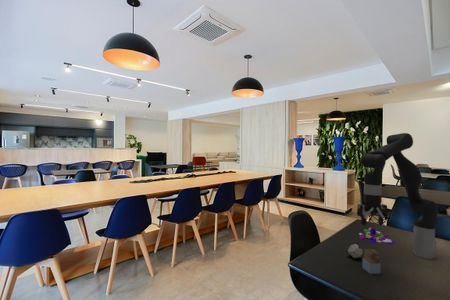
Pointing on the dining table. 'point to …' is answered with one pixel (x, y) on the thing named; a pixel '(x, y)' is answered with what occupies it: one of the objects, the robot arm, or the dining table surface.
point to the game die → (355, 251)
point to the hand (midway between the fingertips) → (372, 224)
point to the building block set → (373, 232)
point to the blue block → (371, 267)
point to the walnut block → (371, 256)
